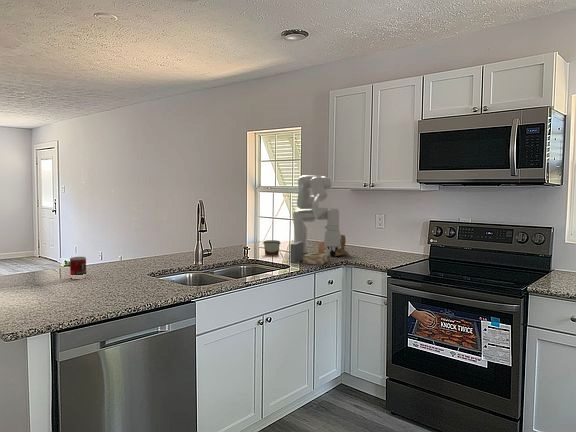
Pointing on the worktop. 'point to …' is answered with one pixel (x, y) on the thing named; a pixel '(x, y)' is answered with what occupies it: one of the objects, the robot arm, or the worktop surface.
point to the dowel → (321, 247)
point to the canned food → (77, 265)
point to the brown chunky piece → (341, 251)
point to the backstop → (296, 252)
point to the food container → (271, 247)
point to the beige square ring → (315, 258)
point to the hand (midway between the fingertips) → (332, 257)
